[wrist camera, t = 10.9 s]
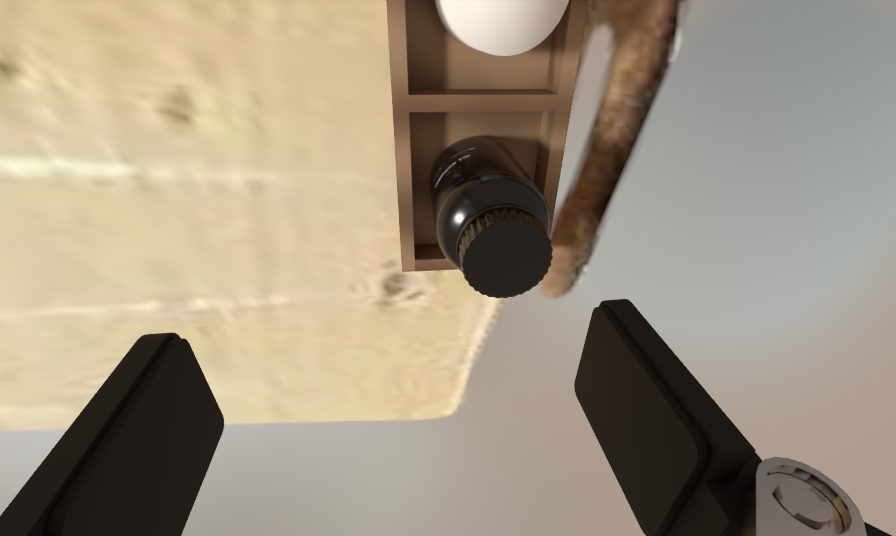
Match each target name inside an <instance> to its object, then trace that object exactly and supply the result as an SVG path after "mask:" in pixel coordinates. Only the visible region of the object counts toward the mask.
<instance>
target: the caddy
mask: <svg viewBox="0 0 896 536" xmlns="http://www.w3.org/2000/svg"><path fill="white" fill-rule="evenodd" d="M588 1H589V0H569V2H568V5H567V7H566V9H565V12H564V14H563V16H562V18H561V19H560V21H559V23H558V24H557V26H556V27H555V28H554V30H553V31H552V32H551V33H550V34H549V36H548V37H547V38H545V39H544V40H543V41H542V42H541V43H540V44H538V45H537V46H535V47H534V48H532V49H530V50H528V51H526V52H523V53H521V54H517V55H512V56H497V55H492V54H488V53H485V52H482V51H479V50H476V49H473V48H469V47H467V46H464V45H462V44H460V43H458V42H457V41H456V40H454V39H453V38H452V37H451V36H450V35H449V34H448V33H447V32H446V30H445V29H444V28H443V26H442V24H441V22H440V20H439V18H438V16H437V13H436V9H435V5H434V0H387V18H388V35H389V52H390V69H391V87H392V104H393V121H394V138H395V156H396V173H397V190H398V207H399V225H400V242H401V259H402V272H410V271H431V270H453V269H457V268H456V267H454V266H453V265H452V264H451V263H450V262H449V261H448V260H447V259H446V257H445V256H444V254H443V253H442V251H441V249H440V246H439V243H438V240H437V235H436V229H435V222H434V216H433V209H432V202H431V195H430V175H431V171H432V168H433V165H434V163H435V161H436V160H437V158H438V157H439V155H440V154H441V153H442V152H443V151H444V150H445V149H446V148H447V147H448V146H450V145H451V144H453V143H455V142H457V141H459V140H462V139H465V138H469V137H485V138H489V139H492V140H495V141H497V142H499V143H500V144H502V145H503V146H504V147H506V148H507V149H508V150H509V151H510V152H511V154H512V155H513V156H514V157H515V158H516V160H517V161H518V162H519V164H520V165H521V166H522V167H523V169H524V170H525V171H526V173H527V174H528V175H529V176H530V178H531V179H532V180H533V181H534V183H535V184H536V185H537V187H538V188H539V189H540V191H541V192H542V194H543V195H544V197H545V199H546V201H547V204H548V207H549V211H550V220H551V221H550V230H549V234H548V237H549V239H550V234H551V228H552V221H553V215H554V209H555V203H556V197H557V190H558V185H559V178H560V172H561V166H562V160H563V154H564V148H565V142H566V136H567V129H568V123H569V117H570V111H571V105H572V99H573V93H574V87H575V80H576V74H577V68H578V62H579V56H580V50H581V44H582V37H583V31H584V25H585V19H586V13H587V7H588Z"/></svg>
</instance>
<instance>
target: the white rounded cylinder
mask: <svg viewBox="0 0 896 536" xmlns="http://www.w3.org/2000/svg"><path fill="white" fill-rule="evenodd" d="M568 2H569V0H434V5H435V9H436V13H437V16H438V18H439V20H440V22H441V24H442V26H443V28H444V29H445V30H446V32H447V33H448V34H449V35H450V36H451V37H452V38H453V39H454V40H456V41H457V42H458V43H460V44H462V45H464V46H467V47H469V48H473V49H476V50H479V51H482V52H485V53H488V54H492V55H497V56H512V55H517V54H521V53H523V52H526V51H528V50H530V49H532V48H534V47H535V46H537V45H538V44H540V43H541V42H542V41H543V40H544V39H545V38H547V37H548V36H549V34H550V33H551V32H552V31H553V30H554V28H555V27H556V26H557V24H558V23H559V21H560V19H561V18H562V16H563V14H564V12H565V9H566V7H567V5H568Z"/></svg>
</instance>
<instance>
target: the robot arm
mask: <svg viewBox="0 0 896 536" xmlns="http://www.w3.org/2000/svg"><path fill="white" fill-rule="evenodd" d="M575 392H576V396H577V398H578V400H579V402H580V404H581V406H582V409H583V411H584V413H585V415H586V417H587V419H588V421H589V423H590V425H591V427H592V429H593V431H594V433H595V435H596V437H597V439H598V441H599V443H600V445H601V447H602V449H603V452H604V454H605V456H606V458H607V460H608V462H609V464H610V466H611V468H612V470H613V472H614V474H615V476H616V478H617V480H618V482H619V484H620V486H621V488H622V490H623V492H624V494H625V497H626V499H627V501H628V503H629V504H630V507H631V509H632V511H633V513H634V515H635V517H636V519H637V521H638V523H639V525H640V527H641V529H642V531H643V532H644V534H645V535H646V536H891V535H889V534H887V533H885V532H883V531H881V530H879V529H877V528H875V527H873V526H871V525H869V524H867V523H865V522H864V521H863V519H862V516H861V514H860V512H859V509H858V508H857V506H856V505H855V504H854V502H853V501H852V500H851V498H850V497H849V496H848V494H847V493H846V492H844V491H843V490H842V489H841V488H840V487H839V486H838V485H837V484H836V483H835V482H834V481H832V480H831V479H829V478H828V477H827V476H825V475H824V474H823V473H821V472H820V471H818V470H816V469H814V468H812V467H810V466H808V465H806V464H804V463H802V462H799V461H796V460H792V459H789V458H781V457H773V458H769V459H765V460H764V461H762V460H761V459H760V457H759V456H758V455H757V454H756V453H755V449H754V448H753V447H752V445H751V444H750V443H749V442H748V441H747V439H746V438H745V437H744V436H743V435H742V434H741V432H740V431H739V430H738V429H737V428H736V426H735V425H734V424H733V423H732V422H731V420H730V419H729V418H728V417H727V416H726V414H725V413H724V412H723V411H722V410H721V408H720V407H719V406H718V405H717V404H716V403H715V401H714V400H713V399H712V398H711V397H710V395H709V394H708V393H707V392H706V391H705V389H704V388H703V387H702V386H701V385H700V384H699V382H698V381H697V380H696V379H695V378H694V376H693V375H692V374H691V373H690V372H689V370H688V369H687V368H686V367H685V366H684V364H683V363H682V362H681V361H680V360H679V358H678V357H677V356H676V355H675V354H674V353H673V351H672V350H671V349H670V348H669V347H668V345H667V344H666V343H665V342H664V341H663V340H662V338H661V337H660V336H659V335H658V334H657V332H656V331H655V330H654V329H653V328H652V326H651V325H650V324H649V323H648V322H647V320H646V319H645V318H644V317H643V316H642V315H641V313H640V312H639V311H638V310H637V308H636V307H635V306H634V305H633V304H632V303H631V302H630V301H629V300H627V299H619V300H606V301H602V302H601V303H600V305H599V307H596V308H595V309H594V310H593V313H592V317H591V321H590V324H589V328H588V332H587V336H586V340H585V344H584V348H583V352H582V356H581V360H580V363H579V367H578V372H577V375H576V379H575ZM223 428H224V418H223V415H222V413H221V410H220V408H219V406H218V404H217V402H216V400H215V398H214V396H213V393H212V391H211V389H210V387H209V385H208V383H207V381H206V378H205V376H204V374H203V372H202V370H201V368H200V366H199V364H198V361H197V359H196V357H195V355H194V353H193V351H192V349H191V346H190V344H189V342H188V341H187V340H186V339H181V338H180V337H179V335H177V334H176V333H160V334H147V335H143V336H141V337H140V338H139V339H138V340H137V341H136V343H135V344H134V345H133V346H132V348H131V349H130V350H129V352H128V353H127V354H126V355H125V357H124V358H123V359H122V361H121V362H120V363H119V364H118V366H117V367H116V368H115V370H114V371H113V372H112V373H111V375H110V376H109V377H108V379H107V380H106V381H105V382H104V384H103V385H102V386H101V388H100V389H99V390H98V391H97V393H96V394H95V395H94V397H93V398H92V399H91V400H90V402H89V403H88V404H87V405H86V407H85V408H84V409H83V411H82V412H81V413H80V414H79V416H78V417H77V418H76V420H75V421H74V422H73V423H72V425H71V426H70V427H69V429H68V430H67V431H66V432H65V434H64V435H63V436H62V438H61V439H60V440H59V441H58V443H57V444H56V445H55V447H54V448H53V449H52V450H51V452H50V453H49V454H48V456H47V457H46V458H45V459H44V461H43V462H42V464H41V465H40V466H39V467H38V468H37V470H36V471H35V472H34V474H33V475H32V476H31V477H30V479H29V480H28V481H27V483H26V484H25V485H24V486H23V488H22V489H21V490H20V491H19V493H18V494H17V495H16V497H15V498H14V499H13V500H12V502H11V503H10V504H9V506H8V507H7V508H6V509H5V511H4V512H3V513H2V515H1V516H0V536H181V534H182V532H183V529H184V527H185V524H186V522H187V520H188V517H189V514H190V512H191V510H192V507H193V505H194V502H195V500H196V497H197V494H198V492H199V490H200V487H201V485H202V482H203V480H204V477H205V475H206V472H207V470H208V467H209V465H210V462H211V460H212V457H213V455H214V452H215V450H216V447H217V445H218V442H219V440H220V438H221V435H222V432H223Z"/></svg>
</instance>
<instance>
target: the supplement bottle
mask: <svg viewBox="0 0 896 536" xmlns="http://www.w3.org/2000/svg"><path fill="white" fill-rule="evenodd" d="M430 195H431V202H432V209H433V216H434V222H435V229H436V235H437V240H438V243H439V246H440V249H441V251H442V253H443V254H444V256H445V257H446V259H447V260H448V261H449V262H450V263H451V264H452V265H453V266H454V267H456V268H457V269H459V270H460V271H462V272H463V274H464V278H465V279H466V280H467V281H468V283H469V285H470V286H471V287H473V288H474V290H475V291H479V292H480V293H481V294H483V295H487V296H488V297H495V298H501V297H502V298H508V297H514V296H516V295H518V294H523V293H524V292H525V291H529V290H530V289H531V288H532V287H534V286H536V285H537V284H538V283H539V282H540V281H541V280H543V278H544V275H545V274H547V273H548V268H549V267H550V266H551V260H552V258H553V257H552V251H553V249H552V247H551V240H550V239H549V237H548V234H549V230H550V221H551V220H550V211H549V207H548V204H547V201H546V199H545V197H544V195H543V194H542V192H541V191H540V189H539V188H538V187H537V185H536V184H535V183H534V181H533V180H532V179H531V178H530V176H529V175H528V174H527V173H526V171H525V170H524V169H523V167H522V166H521V165H520V164H519V162H518V161H517V160H516V158H515V157H514V156H513V155H512V154H511V152H510V151H509V150H508V149H507V148H506V147H504V146H503V145H502V144H500V143H499V142H497V141H495V140H492V139H489V138H485V137H469V138H465V139H462V140H459V141H457V142H455V143H453V144H451V145H450V146H448V147H447V148H446V149H445V150H444V151H443V152H442V153H441V154H440V155H439V157H438V158H437V160H436V161H435V163H434V165H433V168H432V171H431V175H430Z"/></svg>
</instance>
